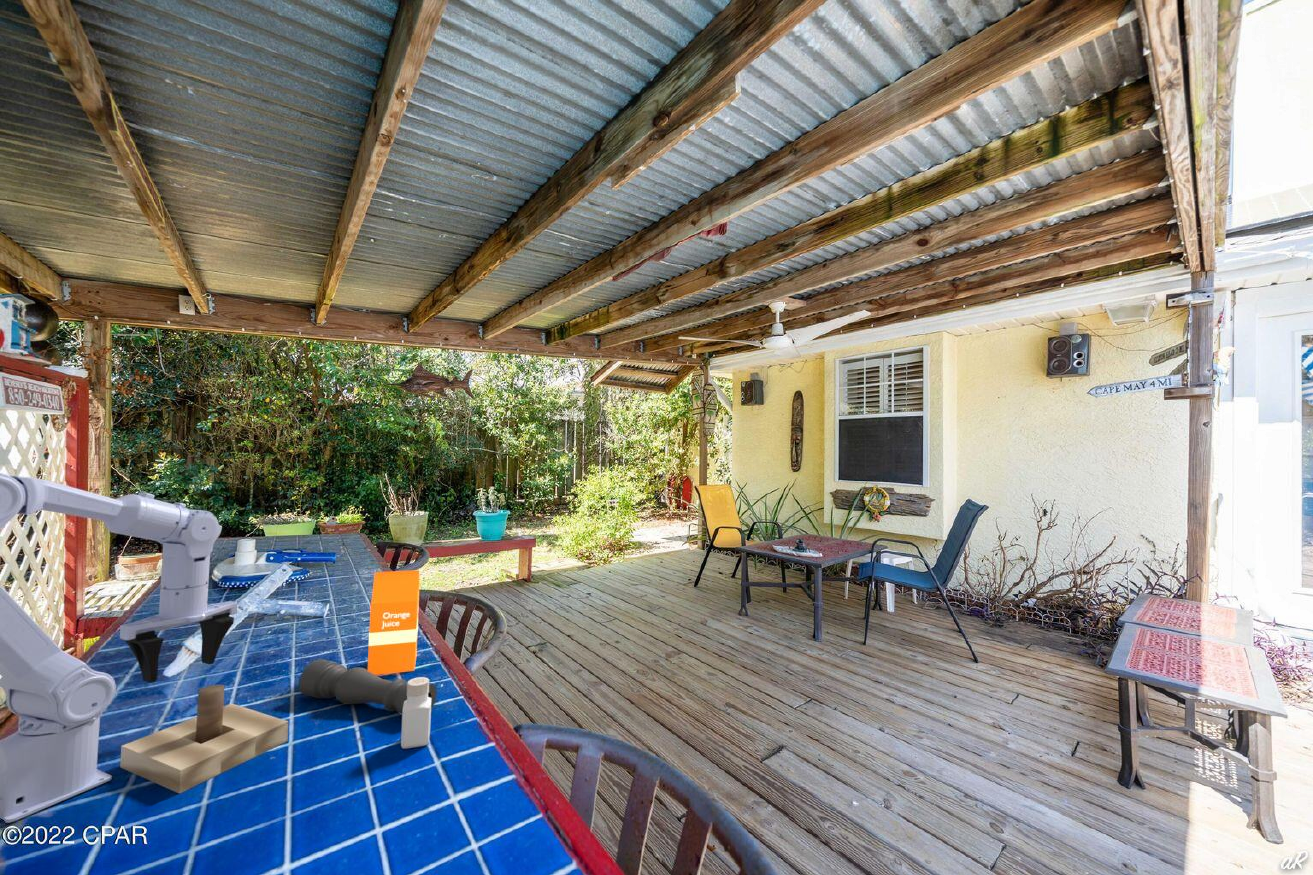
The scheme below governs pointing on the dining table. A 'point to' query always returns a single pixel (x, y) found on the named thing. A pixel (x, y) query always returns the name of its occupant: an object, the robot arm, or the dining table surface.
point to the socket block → (202, 748)
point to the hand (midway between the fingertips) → (180, 671)
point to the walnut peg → (209, 713)
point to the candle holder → (355, 686)
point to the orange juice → (393, 622)
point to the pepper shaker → (416, 714)
